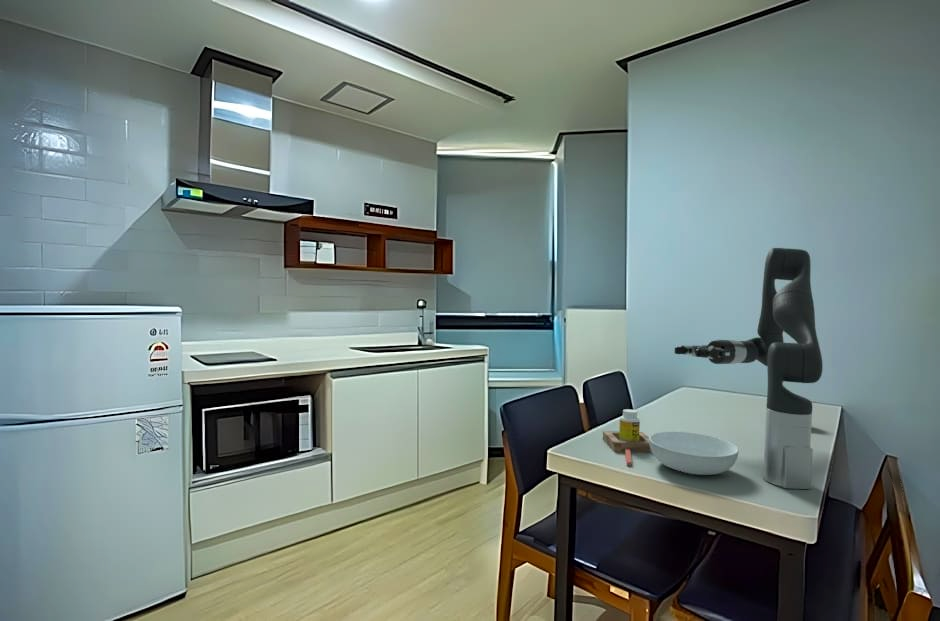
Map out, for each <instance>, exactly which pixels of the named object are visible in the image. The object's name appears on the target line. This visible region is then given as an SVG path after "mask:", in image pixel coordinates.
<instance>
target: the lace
mask: <svg viewBox="0 0 940 621" xmlns="http://www.w3.org/2000/svg"><path fill="white" fill-rule="evenodd" d="M624 454H625V462H627V463H626V466H627V465H629V466H628V467H633V465H632V464H633V460H632V455H631V454H632V453H631V452H630V449H625V452H624Z"/></svg>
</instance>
